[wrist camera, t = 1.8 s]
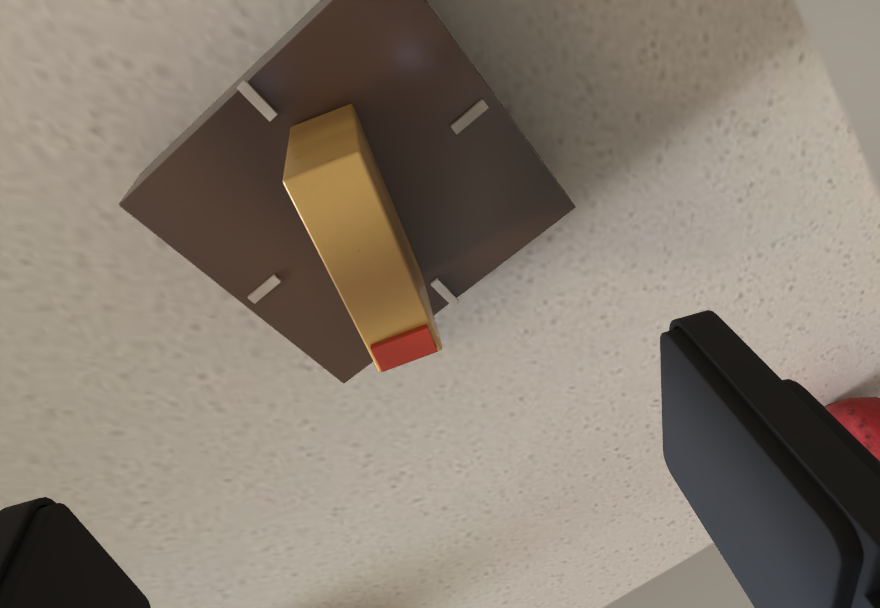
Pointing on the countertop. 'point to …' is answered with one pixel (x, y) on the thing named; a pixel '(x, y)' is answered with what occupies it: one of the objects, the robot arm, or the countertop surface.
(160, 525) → the countertop surface
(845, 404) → the onion
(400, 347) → the tap handle
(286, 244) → the tap deck
